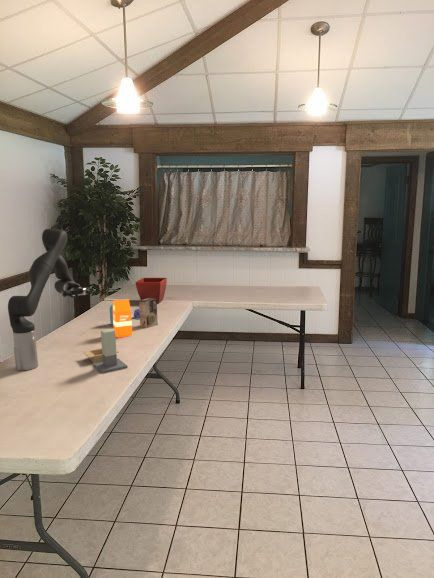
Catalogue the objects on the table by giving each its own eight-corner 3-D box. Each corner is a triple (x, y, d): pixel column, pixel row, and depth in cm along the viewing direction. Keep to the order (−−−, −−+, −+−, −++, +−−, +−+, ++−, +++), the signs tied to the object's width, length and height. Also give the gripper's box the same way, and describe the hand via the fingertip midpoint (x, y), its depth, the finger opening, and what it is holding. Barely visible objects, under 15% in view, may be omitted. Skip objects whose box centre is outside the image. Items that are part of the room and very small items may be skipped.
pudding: (128, 316, 302) (127, 308, 301) (146, 314, 306) (145, 306, 305) (132, 320, 291) (132, 312, 290) (150, 318, 296) (150, 310, 295)
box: (106, 367, 205) (104, 332, 202) (102, 363, 209) (100, 330, 206) (117, 364, 208) (115, 330, 205) (113, 361, 212) (111, 328, 209)
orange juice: (114, 333, 261) (111, 299, 257) (129, 332, 264) (127, 298, 260) (116, 337, 254) (114, 302, 250) (132, 335, 257) (130, 300, 253)
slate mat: (101, 373, 200) (101, 371, 200) (93, 365, 210) (93, 363, 210) (127, 367, 207) (127, 365, 206) (118, 360, 217) (118, 358, 216)
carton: (89, 364, 212) (88, 357, 211) (83, 358, 220) (82, 351, 219) (119, 358, 219) (119, 351, 218) (112, 353, 227) (112, 346, 227)
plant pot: (135, 304, 336) (134, 281, 333) (144, 298, 354) (143, 277, 351) (161, 304, 333) (160, 282, 330) (168, 299, 351) (167, 277, 348)
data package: (131, 322, 285) (130, 303, 282) (130, 324, 280) (129, 305, 278) (111, 323, 283) (110, 304, 281) (110, 325, 279) (109, 306, 277)
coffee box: (150, 323, 283) (149, 297, 280) (158, 324, 279) (157, 298, 276) (139, 326, 276) (138, 300, 273) (146, 327, 272) (145, 301, 269)
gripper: (57, 283, 233) (65, 288, 219) (85, 280, 240) (94, 285, 226) (58, 298, 234) (66, 303, 221) (86, 294, 241) (95, 300, 228)
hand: (80, 294), depth 223 cm, fingers open, 8 cm apart
